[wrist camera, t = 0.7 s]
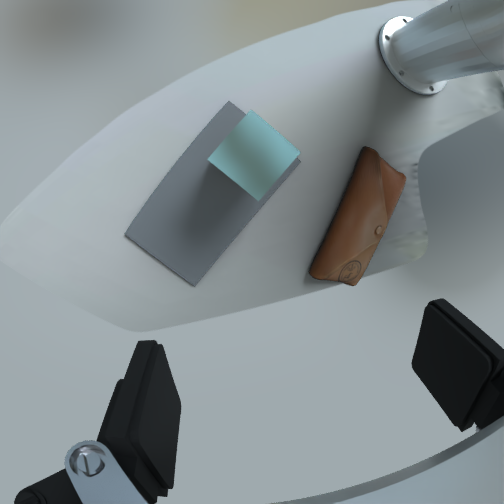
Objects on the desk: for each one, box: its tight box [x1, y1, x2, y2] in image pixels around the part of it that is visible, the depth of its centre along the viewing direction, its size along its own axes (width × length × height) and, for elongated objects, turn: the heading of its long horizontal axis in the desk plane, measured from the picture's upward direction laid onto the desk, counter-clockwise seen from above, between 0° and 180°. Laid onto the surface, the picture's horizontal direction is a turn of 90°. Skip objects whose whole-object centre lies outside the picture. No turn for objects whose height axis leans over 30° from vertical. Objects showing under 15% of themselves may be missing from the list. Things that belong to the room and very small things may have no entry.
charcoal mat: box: [125, 101, 301, 286], centre depth 34 cm, size 20×11×1 cm, turn 139°
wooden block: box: [207, 110, 301, 201], centre depth 27 cm, size 5×5×12 cm
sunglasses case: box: [309, 146, 406, 286], centre depth 36 cm, size 18×7×7 cm
